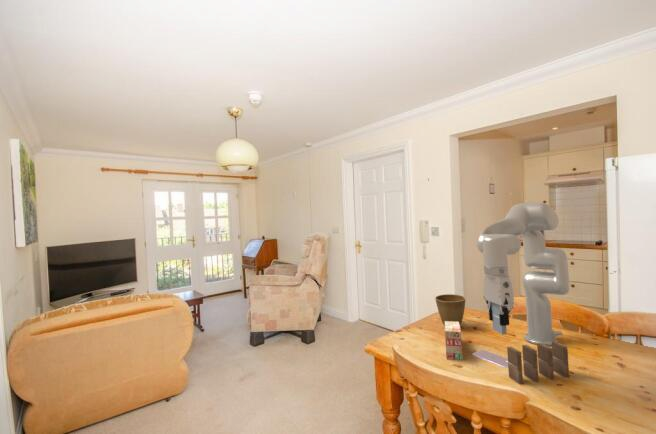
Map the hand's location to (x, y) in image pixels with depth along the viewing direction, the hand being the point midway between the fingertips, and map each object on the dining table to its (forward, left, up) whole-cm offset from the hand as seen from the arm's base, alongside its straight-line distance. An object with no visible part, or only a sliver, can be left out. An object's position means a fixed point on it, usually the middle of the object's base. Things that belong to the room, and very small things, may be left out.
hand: (499, 322), depth 112 cm
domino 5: (-23, -1, -21) cm, 32 cm away
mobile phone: (-9, -18, -22) cm, 30 cm away
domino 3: (-11, -1, -21) cm, 24 cm away
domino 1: (0, 0, -3) cm, 3 cm away
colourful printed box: (+2, -30, -22) cm, 37 cm away
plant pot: (-10, -55, -22) cm, 60 cm away
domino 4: (-17, -1, -21) cm, 28 cm away
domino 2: (-5, -1, -21) cm, 22 cm away
